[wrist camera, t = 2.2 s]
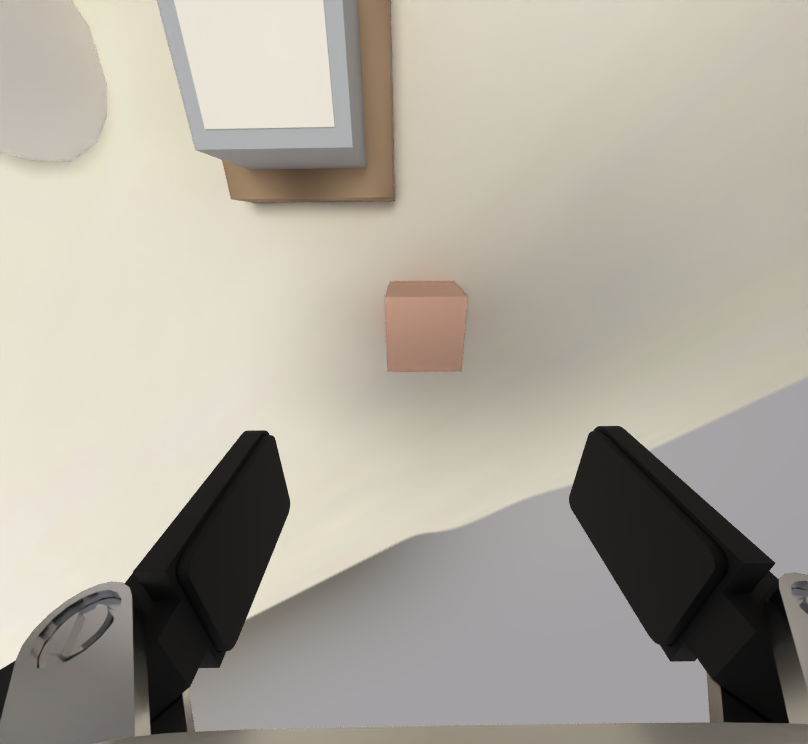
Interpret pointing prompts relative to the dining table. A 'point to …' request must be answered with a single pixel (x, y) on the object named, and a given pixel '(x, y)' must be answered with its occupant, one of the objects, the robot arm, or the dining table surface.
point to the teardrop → (48, 81)
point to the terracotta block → (425, 326)
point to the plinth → (378, 135)
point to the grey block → (270, 80)
